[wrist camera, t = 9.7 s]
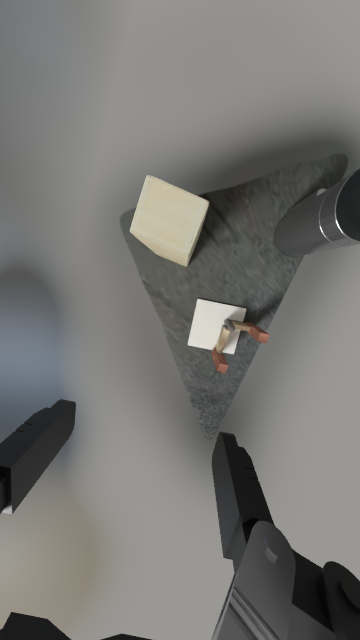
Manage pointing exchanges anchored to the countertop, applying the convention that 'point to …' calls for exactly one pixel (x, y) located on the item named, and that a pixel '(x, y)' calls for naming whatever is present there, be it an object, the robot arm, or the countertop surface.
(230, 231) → the countertop surface
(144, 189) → the upright wooden block
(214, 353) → the toy gate half
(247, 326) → the brown piece
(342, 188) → the robot arm
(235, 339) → the card
